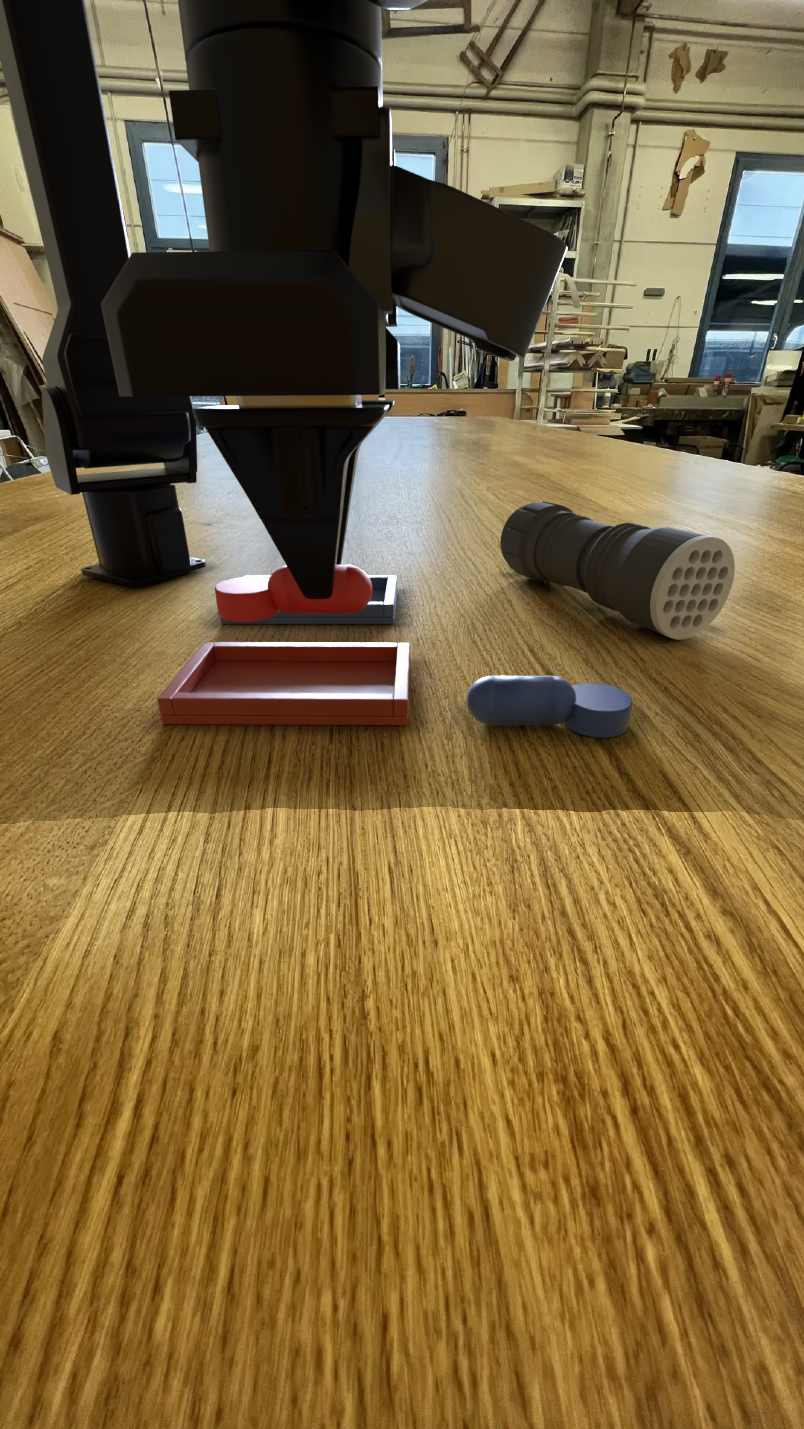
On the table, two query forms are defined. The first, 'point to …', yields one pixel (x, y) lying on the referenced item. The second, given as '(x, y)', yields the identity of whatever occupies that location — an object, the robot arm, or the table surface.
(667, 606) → the flashlight
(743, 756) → the table surface
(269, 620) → the blue tray
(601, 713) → the blue capsule with disc
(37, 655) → the table surface
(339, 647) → the red tray
